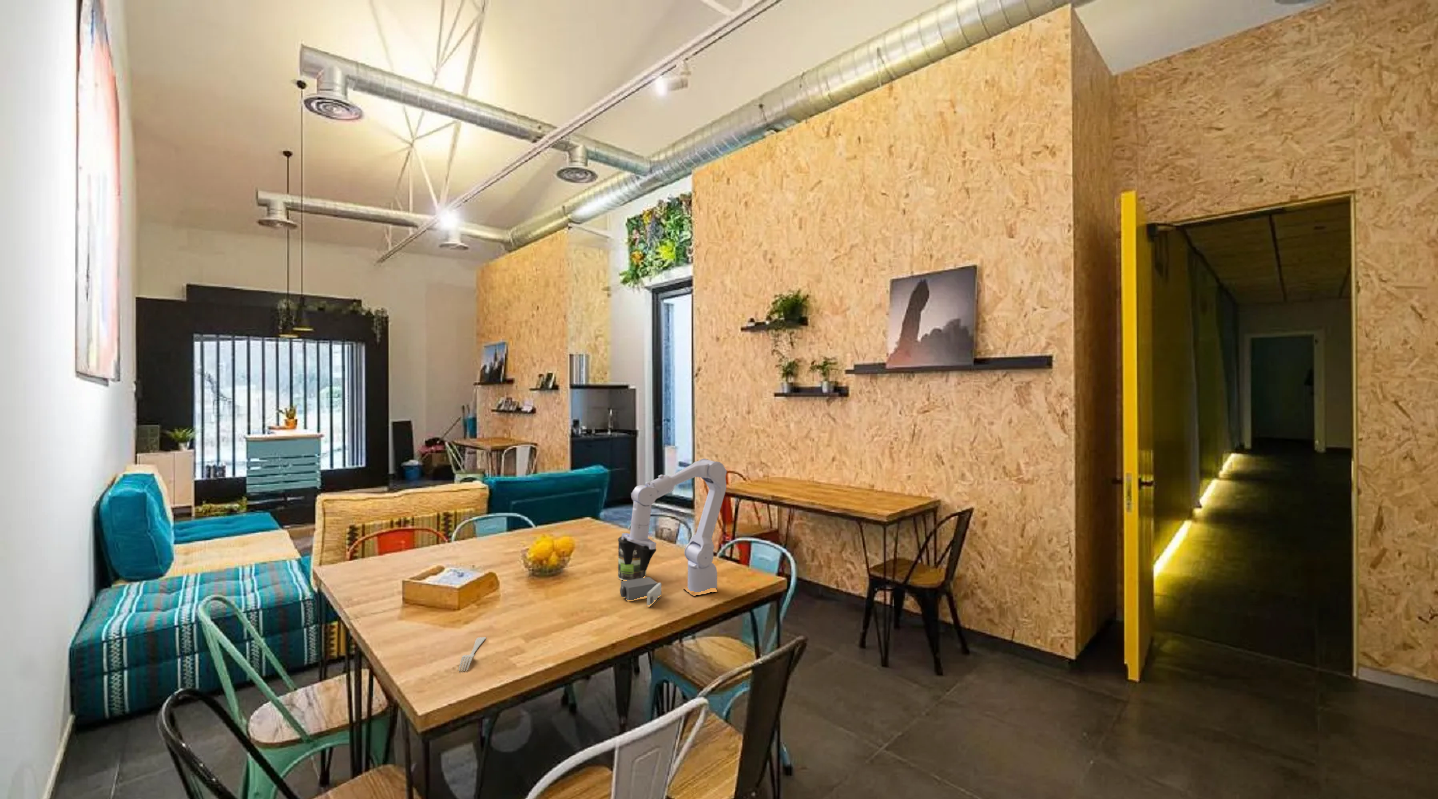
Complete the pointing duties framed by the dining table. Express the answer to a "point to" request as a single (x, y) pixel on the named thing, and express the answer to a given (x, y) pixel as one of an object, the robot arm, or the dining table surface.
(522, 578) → the dining table surface
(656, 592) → the side door
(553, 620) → the dining table surface
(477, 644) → the fork
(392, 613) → the dining table surface
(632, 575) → the coffee can
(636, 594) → the camera case
